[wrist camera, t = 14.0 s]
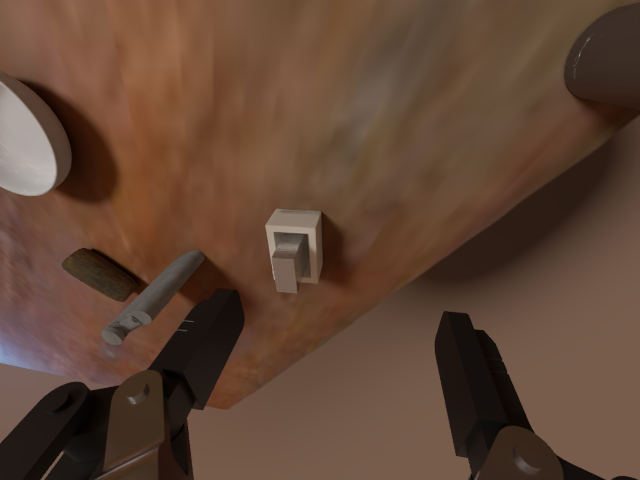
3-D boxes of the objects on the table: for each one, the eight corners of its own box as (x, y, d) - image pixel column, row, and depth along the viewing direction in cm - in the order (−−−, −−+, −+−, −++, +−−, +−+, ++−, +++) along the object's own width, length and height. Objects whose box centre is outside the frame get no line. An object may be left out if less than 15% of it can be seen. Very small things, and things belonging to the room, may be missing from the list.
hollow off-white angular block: (321, 211, 49) (315, 227, 44) (322, 263, 56) (317, 283, 51) (276, 208, 51) (265, 225, 46) (282, 260, 57) (274, 279, 52)
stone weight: (81, 256, 67) (54, 274, 62) (87, 240, 64) (60, 257, 58) (137, 291, 71) (117, 311, 66) (146, 278, 68) (125, 297, 62)
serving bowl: (108, 135, 48) (73, 145, 43) (70, 201, 58) (37, 216, 52) (-15, 24, 42) (-76, 19, 36) (-34, 119, 51) (-85, 127, 46)
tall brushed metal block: (307, 226, 50) (293, 259, 42) (309, 257, 54) (297, 293, 45) (288, 225, 50) (271, 257, 42) (291, 256, 54) (277, 291, 46)
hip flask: (169, 285, 67) (102, 358, 51) (155, 274, 66) (82, 345, 50) (207, 257, 60) (144, 332, 44) (193, 244, 59) (122, 316, 42)
